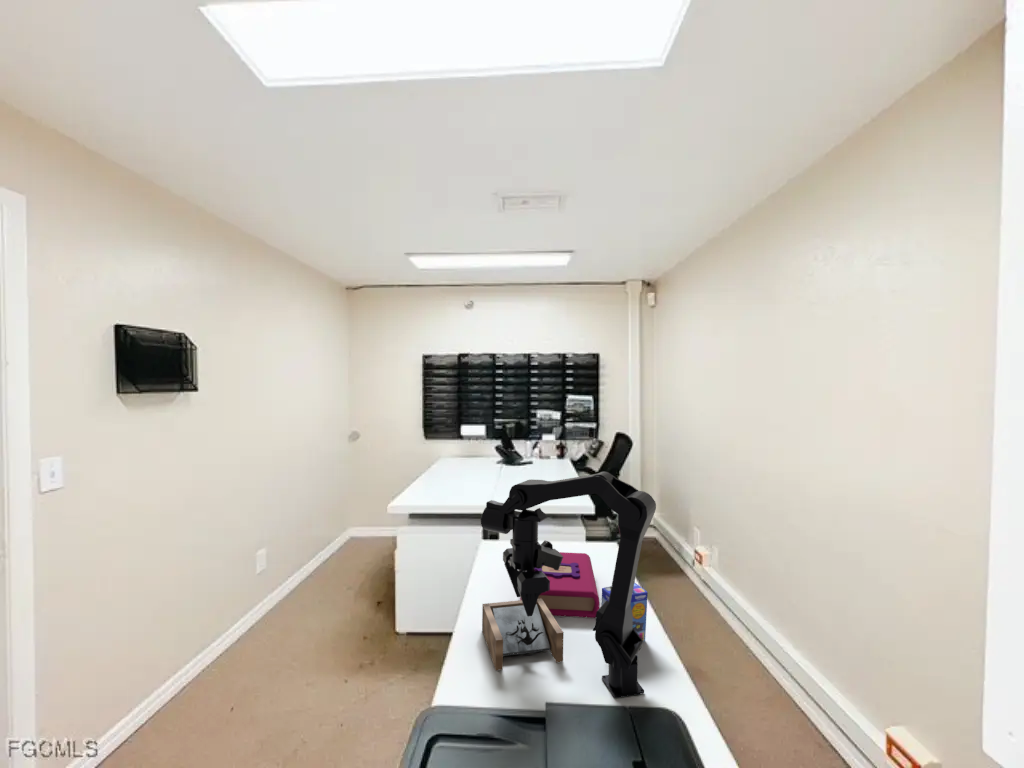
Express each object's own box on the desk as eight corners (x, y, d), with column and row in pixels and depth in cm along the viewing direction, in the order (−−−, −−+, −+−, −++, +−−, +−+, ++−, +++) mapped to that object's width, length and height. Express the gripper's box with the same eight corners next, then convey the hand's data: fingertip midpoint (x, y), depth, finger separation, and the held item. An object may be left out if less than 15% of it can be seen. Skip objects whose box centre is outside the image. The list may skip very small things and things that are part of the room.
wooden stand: (562, 661, 107) (563, 632, 107) (495, 670, 104) (496, 640, 104) (541, 623, 123) (541, 598, 123) (482, 630, 120) (482, 603, 120)
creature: (502, 629, 114) (512, 654, 106) (503, 609, 113) (513, 633, 105) (534, 624, 116) (546, 648, 109) (535, 604, 115) (547, 627, 107)
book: (590, 575, 154) (590, 551, 154) (599, 620, 127) (599, 591, 126) (523, 572, 156) (524, 548, 156) (517, 615, 128) (518, 587, 128)
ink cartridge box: (611, 649, 112) (612, 587, 112) (598, 637, 118) (600, 577, 117) (647, 642, 116) (649, 581, 116) (633, 630, 121) (635, 572, 121)
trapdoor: (549, 650, 110) (550, 647, 110) (501, 656, 107) (502, 653, 107) (536, 606, 121) (536, 604, 120) (492, 610, 118) (492, 608, 118)
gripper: (573, 549, 103) (572, 623, 104) (546, 522, 121) (545, 585, 122) (522, 553, 101) (521, 628, 101) (502, 525, 119) (502, 589, 119)
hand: (524, 606), depth 111 cm, fingers open, 9 cm apart
